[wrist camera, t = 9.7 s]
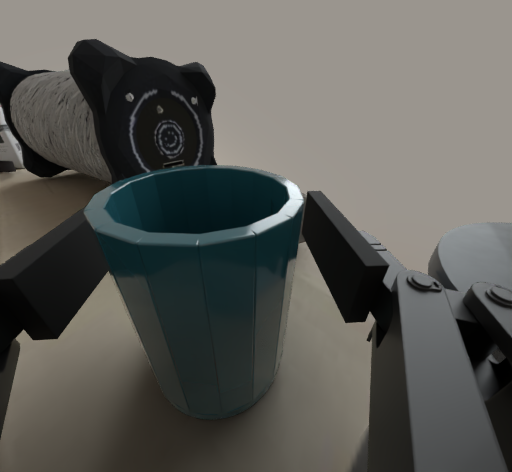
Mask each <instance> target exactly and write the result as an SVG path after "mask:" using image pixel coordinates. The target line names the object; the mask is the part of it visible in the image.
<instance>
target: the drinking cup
mask: <svg viewBox="0 0 512 472" xmlns="http://www.w3.org/2000/svg"><path fill="white" fill-rule="evenodd" d="M303 207H304V199H303V196H302V194H301V191H300V189H299V187H298V186H297V185H295V184H294V183H292V182H291V181H289V180H287V179H286V178H284V177H282V176H280V175H277V174H273V173H270V172H267V171H263V170H259V169H253V168H246V167H239V166H224V165H199V166H184V167H174V168H168V169H163V170H157V171H151V172H147V173H143V174H140V175H136V176H133V177H130V178H127V179H123V180H120V181H118V182H116V183H114V184H112V185H110V186H109V187H107V188H105V189H103V190H101V191H100V192H98V193H96V194H95V195H94V196H93V197H92V199H91V200H90V202H89V203H88V205H87V206H86V208H85V209H84V216H85V218H86V220H87V223H88V225H89V227H90V230H91V232H92V234H93V236H94V239H95V241H96V243H97V246H98V248H99V250H100V252H101V255H102V257H103V259H104V262H105V264H106V266H107V269H108V271H109V273H110V275H111V278H112V280H113V282H114V285H115V287H116V289H117V291H118V294H119V296H120V298H121V301H122V303H123V305H124V307H125V310H126V312H127V314H128V317H129V319H130V321H131V324H132V326H133V328H134V330H135V333H136V335H137V337H138V340H139V342H140V344H141V346H142V349H143V351H144V353H145V356H146V358H147V360H148V363H149V365H150V367H151V369H152V372H153V374H154V376H155V378H156V380H157V382H158V384H159V386H160V388H161V391H162V392H163V394H164V396H165V397H166V399H167V400H168V401H169V402H170V403H171V404H172V406H174V407H175V408H176V409H178V410H179V411H180V412H182V413H184V414H186V415H188V416H191V417H195V418H198V419H206V420H213V419H222V418H227V417H231V416H233V415H236V414H239V413H241V412H242V411H244V410H246V409H248V408H249V407H251V406H252V405H253V404H255V403H256V402H257V401H258V400H259V399H260V398H261V397H262V396H263V395H264V394H265V393H266V391H267V390H268V389H269V387H270V386H271V384H272V382H273V381H274V379H275V376H276V374H277V371H278V368H279V364H280V359H281V356H282V352H283V345H284V338H285V331H286V324H287V318H288V311H289V304H290V297H291V290H292V283H293V276H294V269H295V263H296V256H297V249H298V242H299V235H300V228H301V221H302V214H303Z"/></svg>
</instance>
